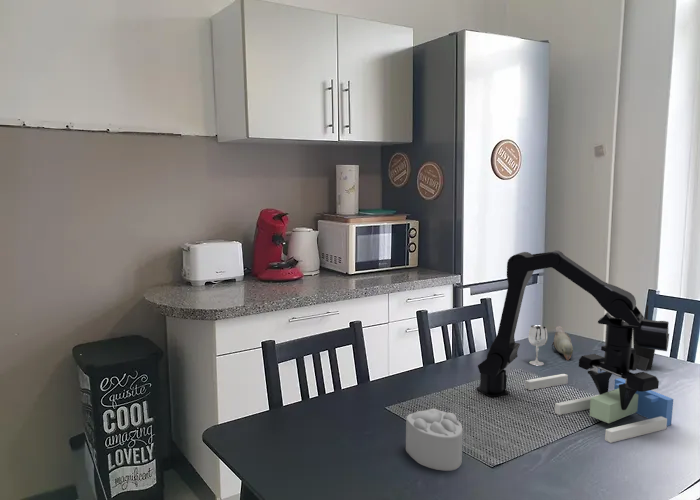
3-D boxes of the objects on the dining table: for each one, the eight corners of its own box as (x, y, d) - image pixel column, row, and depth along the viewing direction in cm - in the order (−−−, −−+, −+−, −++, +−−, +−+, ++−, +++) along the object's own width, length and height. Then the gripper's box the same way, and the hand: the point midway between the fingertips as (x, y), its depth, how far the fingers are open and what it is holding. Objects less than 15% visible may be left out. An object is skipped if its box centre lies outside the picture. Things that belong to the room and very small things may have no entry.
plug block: (608, 423, 128) (610, 405, 127) (589, 415, 132) (590, 397, 131) (637, 411, 134) (638, 394, 134) (617, 404, 138) (619, 387, 138)
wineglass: (548, 366, 171) (550, 329, 169) (530, 366, 171) (532, 329, 170) (542, 360, 177) (544, 324, 175) (524, 360, 177) (526, 324, 175)
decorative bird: (559, 360, 177) (560, 338, 176) (549, 346, 193) (550, 325, 192) (576, 361, 176) (578, 339, 175) (565, 346, 192) (566, 326, 191)
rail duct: (610, 442, 121) (612, 415, 120) (514, 390, 151) (515, 368, 150) (675, 426, 129) (677, 400, 129) (571, 380, 159) (572, 359, 158)
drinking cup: (623, 365, 172) (627, 304, 169) (640, 362, 175) (644, 301, 172) (645, 373, 165) (650, 309, 162) (662, 369, 168) (667, 307, 166)
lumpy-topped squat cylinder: (440, 437, 124) (441, 401, 123) (474, 465, 112) (475, 425, 111) (399, 446, 120) (400, 408, 119) (430, 475, 108) (431, 434, 107)
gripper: (677, 350, 125) (672, 415, 127) (611, 330, 142) (607, 387, 144) (643, 356, 121) (638, 423, 123) (578, 334, 138) (575, 393, 140)
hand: (614, 405), depth 133 cm, fingers closed on plug block, 5 cm apart
